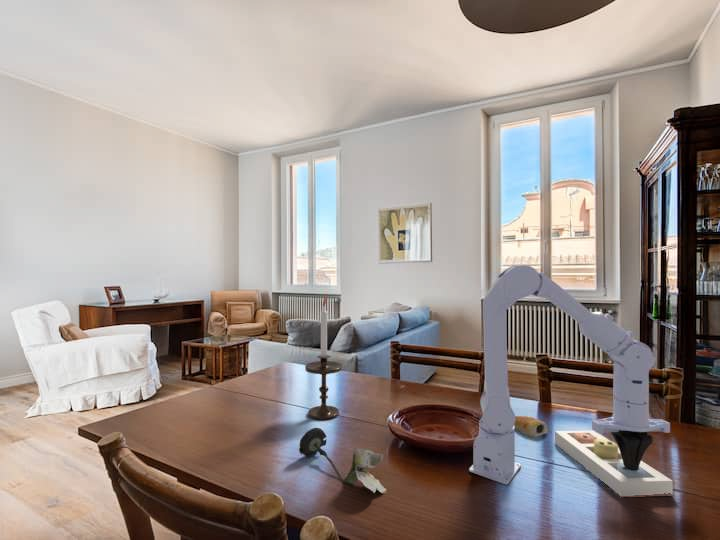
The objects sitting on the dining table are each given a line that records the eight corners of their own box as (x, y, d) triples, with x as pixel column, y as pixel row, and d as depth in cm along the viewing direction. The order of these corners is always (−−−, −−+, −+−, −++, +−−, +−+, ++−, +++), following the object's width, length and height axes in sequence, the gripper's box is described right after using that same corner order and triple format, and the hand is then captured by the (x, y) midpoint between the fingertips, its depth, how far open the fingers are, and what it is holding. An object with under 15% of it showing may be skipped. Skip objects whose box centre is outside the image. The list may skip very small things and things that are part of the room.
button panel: (672, 496, 70) (672, 480, 70) (621, 497, 69) (621, 481, 69) (594, 442, 92) (594, 430, 92) (554, 443, 91) (554, 431, 91)
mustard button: (623, 462, 78) (623, 447, 78) (602, 462, 78) (602, 447, 78) (608, 452, 83) (608, 437, 83) (589, 452, 83) (589, 438, 83)
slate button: (650, 490, 71) (650, 473, 71) (628, 490, 71) (628, 473, 71) (632, 477, 76) (632, 461, 76) (611, 477, 76) (611, 462, 76)
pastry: (503, 425, 102) (503, 412, 102) (520, 421, 105) (520, 408, 105) (533, 439, 94) (533, 424, 94) (550, 434, 97) (550, 420, 97)
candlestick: (344, 408, 114) (344, 295, 114) (338, 422, 104) (339, 297, 104) (310, 406, 115) (310, 294, 116) (301, 420, 105) (301, 297, 105)
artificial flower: (326, 453, 89) (338, 412, 90) (387, 513, 71) (401, 462, 72) (294, 454, 83) (307, 411, 84) (351, 519, 66) (367, 463, 66)
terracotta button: (600, 454, 85) (600, 440, 85) (581, 454, 85) (581, 440, 85) (587, 445, 90) (587, 431, 90) (570, 445, 90) (570, 432, 90)
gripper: (649, 392, 78) (649, 457, 78) (582, 393, 77) (582, 458, 77) (679, 404, 71) (679, 475, 71) (605, 405, 70) (605, 477, 70)
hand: (630, 467), depth 73 cm, fingers closed, pressing on slate button
